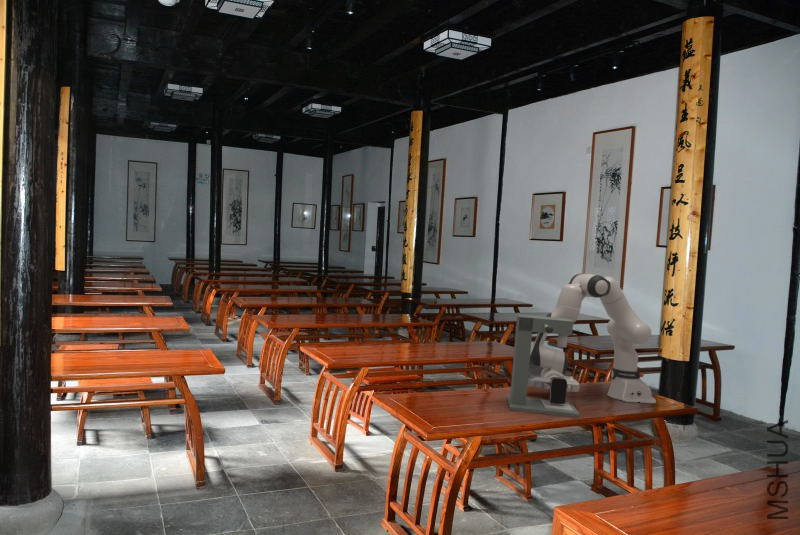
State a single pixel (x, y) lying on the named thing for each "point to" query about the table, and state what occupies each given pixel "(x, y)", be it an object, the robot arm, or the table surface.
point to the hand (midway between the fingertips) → (558, 388)
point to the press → (522, 360)
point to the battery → (558, 390)
